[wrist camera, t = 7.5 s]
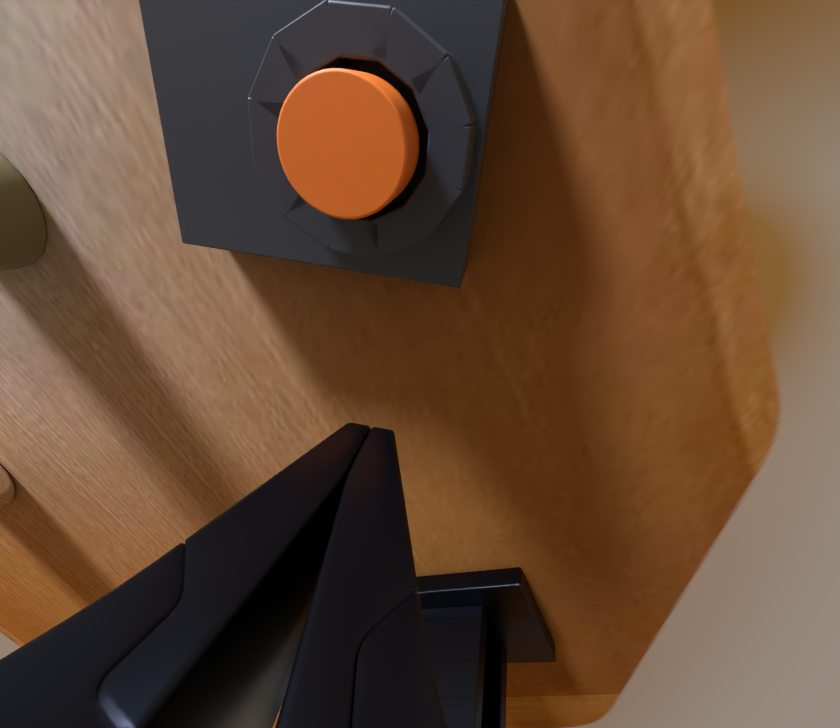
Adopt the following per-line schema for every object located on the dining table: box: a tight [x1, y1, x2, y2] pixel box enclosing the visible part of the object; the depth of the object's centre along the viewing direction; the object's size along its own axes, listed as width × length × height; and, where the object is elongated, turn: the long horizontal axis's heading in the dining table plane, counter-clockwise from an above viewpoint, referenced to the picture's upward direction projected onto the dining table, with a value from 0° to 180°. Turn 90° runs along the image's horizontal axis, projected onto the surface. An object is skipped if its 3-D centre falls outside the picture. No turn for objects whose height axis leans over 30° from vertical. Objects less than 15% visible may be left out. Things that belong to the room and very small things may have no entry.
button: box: [277, 68, 419, 219], centre depth 13 cm, size 4×4×2 cm
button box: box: [139, 0, 508, 288], centre depth 15 cm, size 11×9×4 cm
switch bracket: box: [416, 568, 556, 728], centre depth 26 cm, size 10×8×11 cm
